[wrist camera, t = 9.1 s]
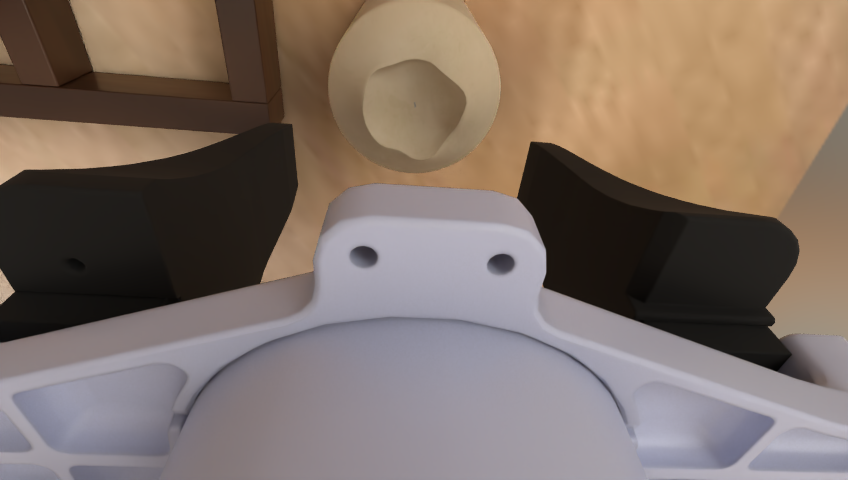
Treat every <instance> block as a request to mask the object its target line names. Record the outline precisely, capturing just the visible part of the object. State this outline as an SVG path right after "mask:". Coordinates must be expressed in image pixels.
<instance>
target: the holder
mask: <svg viewBox="0 0 848 480" xmlns="http://www.w3.org/2000/svg"><path fill="white" fill-rule="evenodd" d="M215 4H216V9H217V15H218V21H219V27H220V32H221V38H222V44H223V50H224V55H225V61H226V67H227V73H228V79H229V83H223V82H211V81H198V80H186V79H174V78H162V77H149V76H137V75H125V74H112V73H100V72H92V67H91V64H90V62H89V59H88V56H87V53H86V50H85V47H84V44H83V42H82V39H81V36H80V33H79V30H78V27H77V24H76V21H75V19H74V16H73V13H72V10H71V7H70V4H69V1H68V0H0V36H1V38H2V40H3V43H4V45H5V47H6V49H7V52H8V54H9V56H10V58H11V60H12V63H13V65H1V64H0V116H2V117H16V118H29V119H43V120H57V121H70V122H84V123H97V124H111V125H124V126H138V127H151V128H165V129H178V130H192V131H205V132H219V133H232V134H240V133H243V132H245V131H248V130H250V129H252V128H255V127H258V126H260V125H263V124H267V123H281V121H282V120H283V118H284V109H283V99H282V90H281V80H280V70H279V61H278V51H277V42H276V32H275V23H274V13H273V4H272V0H215Z"/></svg>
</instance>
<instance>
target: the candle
mask: <svg viewBox="0 0 848 480" xmlns="http://www.w3.org/2000/svg"><path fill="white" fill-rule="evenodd" d="M328 94H329V101H330V106H331V110H332V113H333V116H334V118H335V121H336V123H337V125H338V127H339V129H340V131H341V132H342V133H343V135H344V136H345V138H346V139H347V140H348V142H349V143H350V144H351V145H352V146H353V147H354V148H355V149H356V150H357V151H358V152H359V153H360V154H362V155H363V156H364V157H366V158H367V159H369V160H370V161H372V162H374V163H376V164H378V165H380V166H382V167H385V168H387V169H391V170H395V171H399V172H406V173H424V172H431V171H436V170H439V169H442V168H445V167H448V166H450V165H452V164H454V163H456V162H458V161H459V160H461V159H463V158H464V157H466V156H467V155H468V154H469V153H470V152H472V151H473V150H474V149H475V148H476V147H477V146H478V145H479V144H480V143H481V141H482V140H483V139H484V137H485V136H486V134H487V133H488V131H489V129H490V128H491V126H492V124H493V121H494V119H495V116H496V114H497V110H498V106H499V101H500V94H501V80H500V72H499V67H498V63H497V59H496V57H495V54H494V52H493V49H492V47H491V45H490V44H489V42H488V40H487V38H486V37H485V35H484V33H483V32H482V30H481V28H480V27H479V25H478V23H477V22H476V20H475V19H474V17H473V15H472V14H471V12H470V10H469V9H468V7H467V5H466V4H465V2H464V0H366V1H365V2H364V4H363V5H362V7H361V8H360V10H359V12H358V13H357V15H356V16H355V18H354V19H353V21H352V23H351V24H350V26H349V27H348V29H347V30H346V32H345V34H344V35H343V37H342V38H341V40H340V42H339V44H338V46H337V48H336V50H335V52H334V55H333V58H332V61H331V64H330V70H329V75H328Z"/></svg>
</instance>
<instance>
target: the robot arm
mask: <svg viewBox="0 0 848 480" xmlns="http://www.w3.org/2000/svg"><path fill="white" fill-rule="evenodd" d="M297 188H298V180H297V170H296V160H295V149H294V139H293V129H292V124H282V123H267V124H263V125H260V126H258V127H255V128H252V129H250V130H248V131H245V132H243V133H240V134H238V135H236V136H233V137H231V138H228V139H226V140H223V141H220V142H218V143H215V144H212V145H210V146H207V147H204V148H201V149H198V150H195V151H192V152H188V153H185V154H181V155H177V156H173V157H169V158H164V159H159V160H153V161H147V162H142V163H136V164H129V165H121V166H112V167H100V168H87V169H53V170H24V171H22V172H20V173H19V174H17V175H16V176H14V177H12V178H11V179H9V180H8V181H6V182H5V183H3V184H1V185H0V269H1V270H2V272H3V273H4V275H5V277H6V278H7V280H8V281H9V283H10V284H11V286H12V288H13V289H14V291H15V292H14V293H13V294H12V295H11V296H10V297H9V298H8V299H7V300H6V301H5V302H3V303H2V304H0V480H848V341H847V340H846V339H845V338H844V337H842V336H837V335H836V336H835V335H815V334H791V335H787V336H784V337H782V338H780V339H778V338H777V337H776V336H775V334H774V333H773V332H772V331H771V330H770V329H769V328H768V326H772V325H773V324H774V323H775V318H774V317H773V316H772V315H771V313H770V312H769V311H768V310H767V309H766V306H767V305H768V304H769V302H770V301H771V300H772V298H773V297H774V296H775V294H776V293H777V292H778V291H779V289H780V288H781V286H782V285H783V284H784V283H785V281H786V280H787V279H788V277H789V276H790V274H791V272H792V271H793V269H794V267H795V265H796V263H797V259H798V255H799V245H798V239H797V238H796V237H795V235H794V234H793V233H792V231H791V230H790V229H789V228H787V227H786V226H785V225H784V224H782V223H781V222H780V221H779V220H777V219H776V218H773V217H767V216H760V215H753V214H746V213H739V212H732V211H726V210H721V209H716V208H711V207H706V206H702V205H697V204H693V203H689V202H685V201H681V200H678V199H675V198H671V197H668V196H664V195H661V194H658V193H655V192H652V191H649V190H647V189H644V188H642V187H639V186H637V185H634V184H631V183H629V182H627V181H624V180H622V179H620V178H618V177H616V176H614V175H612V174H610V173H608V172H606V171H604V170H602V169H600V168H598V167H596V166H594V165H593V164H591V163H589V162H587V161H585V160H584V159H582V158H580V157H578V156H577V155H575V154H573V153H571V152H569V151H568V150H566V149H564V148H562V147H560V146H558V145H555V144H552V143H542V142H531V143H530V147H529V151H528V155H527V160H526V164H525V168H524V172H523V176H522V180H521V184H520V188H519V193H518V197H517V198H514V197H511V196H508V195H505V194H502V193H498V192H495V191H489V190H473V189H458V188H443V187H427V186H412V185H397V184H381V183H374V184H368V185H362V186H356V187H350V188H348V189H346V190H345V191H344V192H343V193H341V194H340V195H339V196H338V197H337V198H335V199H334V200H333V201H332V202H331V203H329V206H328V210H327V213H326V216H325V220H324V223H323V226H322V229H321V233H320V236H319V240H318V243H317V247H316V251H315V254H314V258H313V265H314V271H313V272H309V273H305V274H300V275H296V276H292V277H287V278H283V279H279V280H274V281H270V282H266V283H261V284H260V282H261V279H262V276H263V272H264V270H265V267H266V265H267V262H268V260H269V258H270V255H271V253H272V251H273V249H274V247H275V245H276V243H277V241H278V238H279V236H280V234H281V232H282V230H283V228H284V226H285V223H286V221H287V219H288V217H289V215H290V212H291V210H292V207H293V203H294V200H295V196H296V192H297ZM542 284H543V287H544V288H543V287H542Z"/></svg>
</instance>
